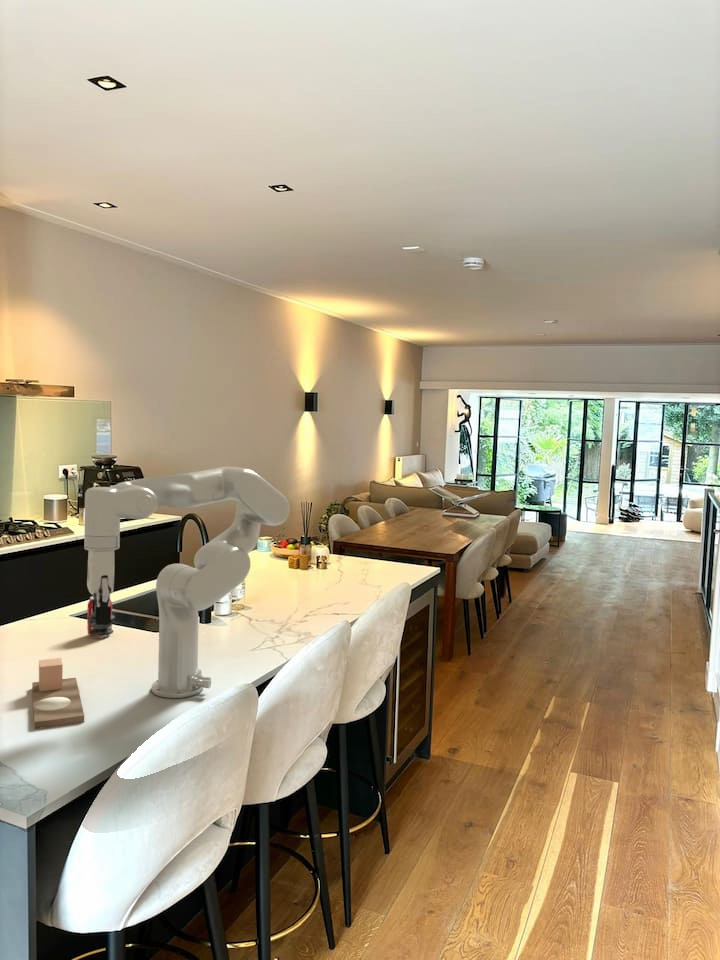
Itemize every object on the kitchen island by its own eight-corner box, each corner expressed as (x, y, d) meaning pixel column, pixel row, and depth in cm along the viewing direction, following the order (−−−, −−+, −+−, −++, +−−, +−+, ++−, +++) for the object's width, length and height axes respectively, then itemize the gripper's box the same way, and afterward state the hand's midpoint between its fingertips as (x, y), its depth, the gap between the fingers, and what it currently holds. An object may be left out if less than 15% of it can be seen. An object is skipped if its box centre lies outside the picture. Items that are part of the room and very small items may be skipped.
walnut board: (32, 688, 176) (32, 682, 176) (75, 683, 180) (75, 677, 180) (34, 728, 154) (34, 721, 154) (84, 721, 159) (84, 715, 159)
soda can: (116, 636, 218) (116, 597, 217) (94, 641, 213) (94, 601, 212) (104, 630, 223) (105, 593, 222) (83, 635, 218) (83, 596, 216)
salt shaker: (105, 626, 168) (106, 576, 167) (119, 632, 164) (120, 581, 163) (82, 632, 163) (82, 580, 162) (96, 638, 160) (96, 585, 159)
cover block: (38, 684, 175) (38, 660, 175) (60, 681, 177) (60, 657, 177) (39, 691, 171) (39, 667, 170) (62, 688, 173) (62, 664, 172)
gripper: (80, 535, 168) (80, 611, 170) (88, 549, 153) (87, 632, 154) (114, 534, 171) (113, 608, 173) (125, 548, 156) (124, 629, 158)
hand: (101, 619), depth 164 cm, fingers closed on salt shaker, 5 cm apart
